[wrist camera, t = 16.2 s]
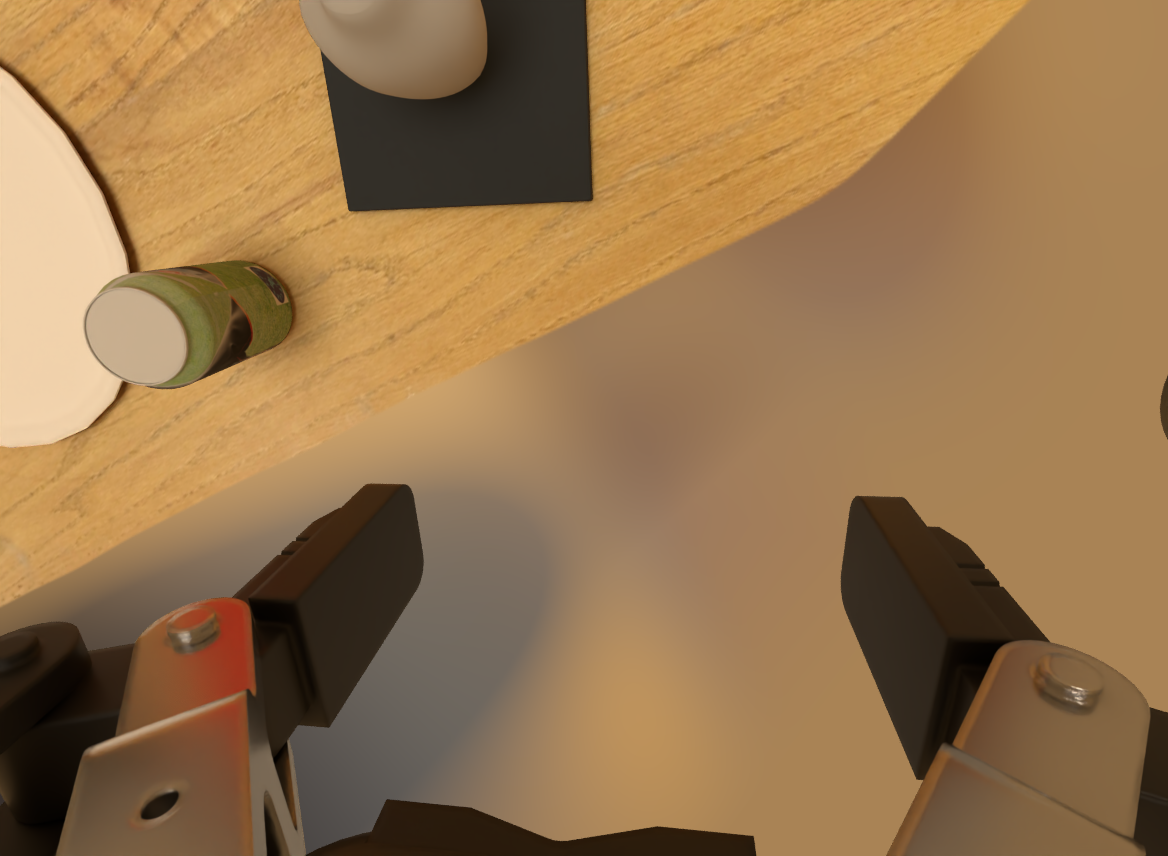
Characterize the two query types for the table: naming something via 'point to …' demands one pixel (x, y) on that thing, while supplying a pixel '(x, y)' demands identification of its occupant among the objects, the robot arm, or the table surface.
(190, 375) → the beverage can
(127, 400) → the table surface
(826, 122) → the table surface
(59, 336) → the plate
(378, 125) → the mat
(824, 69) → the table surface
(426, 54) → the grey rounded body
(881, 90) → the table surface
